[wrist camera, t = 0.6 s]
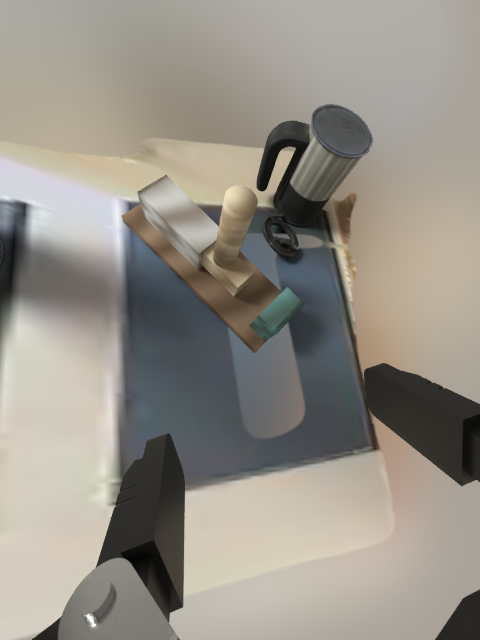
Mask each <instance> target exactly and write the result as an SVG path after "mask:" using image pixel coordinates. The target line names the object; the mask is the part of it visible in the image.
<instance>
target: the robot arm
mask: <svg viewBox="0 0 480 640" xmlns="http://www.w3.org/2000/svg"><path fill="white" fill-rule="evenodd" d="M3 257H4V247H3V243H2V242H1V240H0V265H1V263H2V261H3ZM364 380H365V390H366V400H367V405H368V407H369V409H370V411H371V412H372V414H373V415H374V416H375V417H376V418H377V419H379V420H380V421H381V422H382V423H384V424H385V425H386V426H387V427H389V428H390V429H391V430H392V431H394V432H395V433H396V434H397V435H399V436H400V437H401V438H402V439H403V440H405V441H406V442H407V443H409V444H410V445H411V446H412V447H413V448H415V449H416V450H417V451H418V452H420V453H421V454H422V455H423V456H425V457H426V458H427V459H428V460H430V461H431V462H432V463H433V464H435V465H436V466H437V467H438V468H440V469H441V470H442V471H443V472H445V473H446V474H447V475H448V476H450V477H451V478H452V479H453V480H455V481H456V482H457V483H459V484H460V485H461V486H463V485H465V484H467V483H470V482H472V481H474V480H478V481H479V482H480V404H478V403H476V402H474V401H472V400H470V399H467V398H465V397H463V396H461V395H459V394H457V393H455V392H453V391H451V390H448V389H446V388H445V389H444V388H443V387H442V386H440V385H438V384H436V383H432V382H431V381H429V380H427V379H425V378H423V377H421V376H419V375H416V374H412V373H408V372H404V371H400V370H398V369H396V368H394V367H392V366H390V365H388V364H385V363H382V364H379V365H376V366H373V367H370V368H367V369H366V370H365V371H364ZM184 512H185V481H184V474H183V469H182V466H181V463H180V460H179V457H178V455H177V452H176V449H175V446H174V443H173V440H172V438H171V436H170V434H165V435H162V436H159V437H156V438H153V439H150V440H148V441H147V443H146V447H145V451H144V455H143V458H141V459H138V460H135V461H134V462H133V463H132V465H131V466H130V468H129V469H128V471H127V472H126V474H125V475H124V478H123V481H122V484H121V488H120V494H118V497H117V501H116V507H115V508H114V510H113V514H112V517H111V520H110V524H109V527H108V530H107V533H106V537H105V540H104V543H103V546H102V550H101V553H100V556H99V560H98V563H97V566H96V568H95V569H94V570H93V571H92V572H91V573H90V574H88V575H87V576H86V578H85V579H84V580H83V581H82V582H81V583H80V584H79V586H78V587H77V588H76V590H75V591H74V593H73V594H72V596H71V597H70V599H69V601H68V603H67V605H66V607H65V609H64V611H63V614H62V616H61V617H60V618H59V619H58V620H57V621H56V622H54V623H53V624H52V625H51V626H49V627H48V628H47V629H45V630H44V631H43V632H41V633H40V634H39V635H37V636H36V637H35V638H33V639H32V640H180V639H179V638H178V636H177V635H176V634H175V632H174V630H173V629H172V627H171V626H170V624H169V617H170V616H169V615H170V613H171V612H173V611H175V610H178V609H180V608H182V607H183V582H184ZM435 640H480V590H478V591H476V592H474V593H472V594H470V595H468V596H467V597H465V598H463V599H462V601H461V602H460V604H459V605H458V607H457V608H456V610H455V611H454V613H453V614H452V616H451V617H450V619H449V620H448V621H447V623H446V624H445V626H444V627H443V629H442V630H441V632H440V633H439V635H438V636H437V638H436V639H435Z"/></svg>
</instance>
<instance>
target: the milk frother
mask: <svg viewBox="0 0 480 640" xmlns="http://www.w3.org/2000/svg"><path fill="white" fill-rule="evenodd" d="M372 142H373V140H372V135H371V132H370V130H369V128H368V126H367V125H366V123H365V122H364V121H363V120H362V119H361V118H360V117H359V116H358V115H357V114H355V113H353V112H352V111H351V110H349V109H346V108H344V107H342V106H338V105H333V104H330V105H329V104H328V105H324V106H320V107H318V108H317V109H316V110H315V111H314V112H313V114H312V119H311V124H310V125H309V124H305V123H302V122H298V121H286V122H283V123H281V124H279V125H278V126H276V127H275V128H274V129H273V130H272V131H271V133H270V134H269V136H268V139H267V142H266V146H265V149H264V153H263V157H262V161H261V165H260V168H259V173H258V176H257V189H258V190H259V191H265V190H266V188H267V186H268V183H269V180H270V177H271V174H272V171H273V168H274V165H275V162H276V159H277V156H278V154H279V152H280V151H281V150H282V149H283V148H285V147H288V146H289V147H290V146H291V147H295V148H296V150H295V152H294V154H293V156H292V159H291V161H290V163H289V165H288V167H287V169H286V171H285V173H284V176H283V178H282V180H281V182H280V184H279V186H278V188H277V192H276V193H275V195H274V201H273V202H274V207H275V209H276V212H277V213H278V215H273V216H269V217H267V218H266V219H265V220H264V221H263V223H262V232H263V235H264V237H265V239H266V241H267V242H268V244H269V245H270V247H271V248H272V249H273V250H274V251H275V252H276V253H277V254H279V255H280V256H282V257H285V258H291V257H293V256H295V255H296V253H297V251H298V249H299V246H298V240H297V237H296V235H295V233H294V232H293V231H292V229H291V228H290V227H289V226H288V225H287V224H286V223H285V222H283V221H282V220H280V219H278V218H279V217H281V218H282V219H283V220H284V221H286V222H288V223H289V224H292V225H295V226H308V225H310V224H312V223H313V222H314V221H315V220H316V219H317V217H318V214H319V212H320V211H321V210H322V208H323V207H324V205H325V204H326V203H327V201H328V200H329V199H330V197H331V196H332V195H333V193H334V192H335V191H336V190H337V188H338V187H339V186H340V184H341V183H342V182H343V180H344V179H345V178H346V177H347V175H348V174H349V173H350V171H351V170H352V169H353V167H354V166H355V165H356V163H357V162H358V161H359V159H360V158H361V157H362V156H363V155H365V154H366V153H368V151H369V150H370V148H371V145H372ZM271 225H277V226H279V227H281V228H282V229H283V230H284V231H285V232H286V233H287V234H288V236H289V237H290V240H289V239H285V238H277V237H276V236H275V237H273V235H272V233H271V230H270V227H271Z"/></svg>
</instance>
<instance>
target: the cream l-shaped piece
mask: <svg viewBox="0 0 480 640" xmlns="http://www.w3.org/2000/svg"><path fill="white" fill-rule="evenodd" d="M257 203H258V201H257V197H256V195H255V194H254V192H253V191H251V190H250V189H249V188H247V187H244V186H233V187H231V188H229V189H228V190H227V191H226V193H225V198H224V203H223V208H222V213H221V218H220V224H219V229H218V234H217V239H216V242H215V243H214V244H213V245H211V246H210V247H209V248H208V249H206V250H205V251H204V252H202V255H201V264H202V265H203V266H204V267H205V268H206V269H207V270H208V271H209V272H210V273H211V274H212V275H213V276H214V277H215V278H216V279H217V280H218V281H219V282H220V283H221V284H222V285H223V286H224V287H225V288H226V289H227V290H228V291H229V292H230V293H231V294H232V295H233V296H234V295H236V294H237V293H238V292H239V291H240V290H241V289H242V288H243V287H244V286H245V285H247V284H248V283H249V281H250V279H251V278H252V276H253V274H254V272H253V271H252V270H251V269H250V268H249V267H248V266H247V265H246V264H245V263H244V262H243V261H242V260H241V259H240V258H239V257H238V254H239V251H240V249H241V246H242V244H243V241H244V238H245V236H246V233H247V231H248V228H249V225H250V223H251V220H252V217H253V215H254V212H255V210H256V207H257Z"/></svg>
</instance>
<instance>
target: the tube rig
mask: <svg viewBox="0 0 480 640" xmlns="http://www.w3.org/2000/svg"><path fill="white" fill-rule="evenodd" d="M138 196H139V200H140V205H138V206H137V207H135V208H133V209H132V210H130V211H129V212H127V213H125V214H124V215H122V219H123V221H124V223H125V224H126V225H127V226H128V227H129V228H130V229H131V230H132V231H133V232H134V233H135V234H136V235H137V236H138V237H139V238H140V239H141V240H142V241H143V242H144V243H145V244H146V245H147V246H148V247H149V248H150V249H151V250H152V251H153V252H154V253H155V254H156V255H157V256H158V257H159V258H160V259H161V260H162V261H163V262H164V263H165V264H166V265H167V266H168V267H169V268H170V269H171V270H172V271H173V272H174V273H175V274H176V275H177V276H178V277H179V278H180V279H181V280H182V281H183V282H184V283H185V284H186V285H187V286H188V287H189V288H190V289H191V290H192V291H193V292H194V293H195V294H196V295H197V296H198V297H199V298H200V299H201V300H202V301H203V302H204V303H205V304H206V305H207V306H208V307H209V308H210V309H211V310H212V311H213V312H214V313H215V314H216V315H217V316H218V317H219V318H220V319H221V320H222V321H223V322H224V323H225V324H226V325H227V326H228V327H229V328H230V329H231V330H232V331H233V332H234V333H235V334H236V335H237V336H238V337H239V338H240V339H241V340H242V341H243V342H244V343H245V344H246V345H247V346H248V347H249V348H250V349H251V350H252V351H253V352H256V351H257V350H258V349H259V348H260V347H261V346H262V345H263V344H264V343H265V342H266V341H267V340H268V339H269V338H270V337H272V336H274V335H275V334H277V333H278V332H279V331H280V330H281V328H283V326H284V325H285V324H286V323H287V322H288V321H289V320H290V319H291V318H292V317H293V316H294V315H295V314H296V312H297V311H298V310H299V309H300V308H301V307H302V306H303V305H304V303H303V302H302V301H301V300H300V299H299V298H298V297H297V296H296V295H295V294H294V293H293V292H292V291H291V290H290V289H289V288H288V287H287V288H286V289H285V290H284V291H283V292H281V291H280V290H279V289H278V288H276V287H275V285H273V284H272V283H271V282H270V281H269V280H268V279H267V278H266V277H265V276H264V275H263V274H262V273H261V272H260V271H259V270H258V269H257V268H256V267H255V266H254V265H253V264H252V263H251V262H250V261H249V260H248V259H247V258H246V257H245V256H244V255H243V254H242V253H241V252H240V251H239V254H238V257H239V258H240V259H241V260H242V261H243V262H244V263H245V264H246V265H247V266H248V267H249V268H250V269H251V270H252V271H253V272H254V274H253V276H252V278H251V279H250V281H249V283H248V284H247V285H245V286H244V287H243V288H242V289H241V290H240V291H239V292H238V293H237V294H236V295H234V296H233V295H232V294H231V293H230V292H229V291H228V290H227V289H226V288H225V287H224V286H223V285H222V284H221V283H220V282H219V281H218V280H217V279H216V278H215V277H214V276H213V275H212V274H211V273H210V272H209V271H208V270H207V269H206V268H205V267H204V266H203V265H202V264H201V255H202V252H204V251H205V250H206V249H208V248H209V247H210V246H211V245H213V244H214V243H215V242H216V239H217V234H218V229H219V226H217V225H216V224H215V223H214V222H213V221H212V220H211V219H210V218H209V217H208V216H207V215H206V214H205V213H204V212H203V211H202V210H201V209H200V208H199V207H198V206H197V205H196V204H195V203H194V202H193V201H192V200H191V199H190V198H189V197H188V196H187V195H186V194H185V193H184V192H183V191H182V190H181V189H180V188H179V187H178V186H177V185H176V184H175V183H174V182H173V181H172V180H171V179H170V178H169V177H168V176H167V175H165V176H164V177H162V178H160V179H158V180H157V181H155V182H153V183H152V184H150V185H148V186H147V187H145V188H143V189H142V190H140V191H138Z"/></svg>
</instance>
